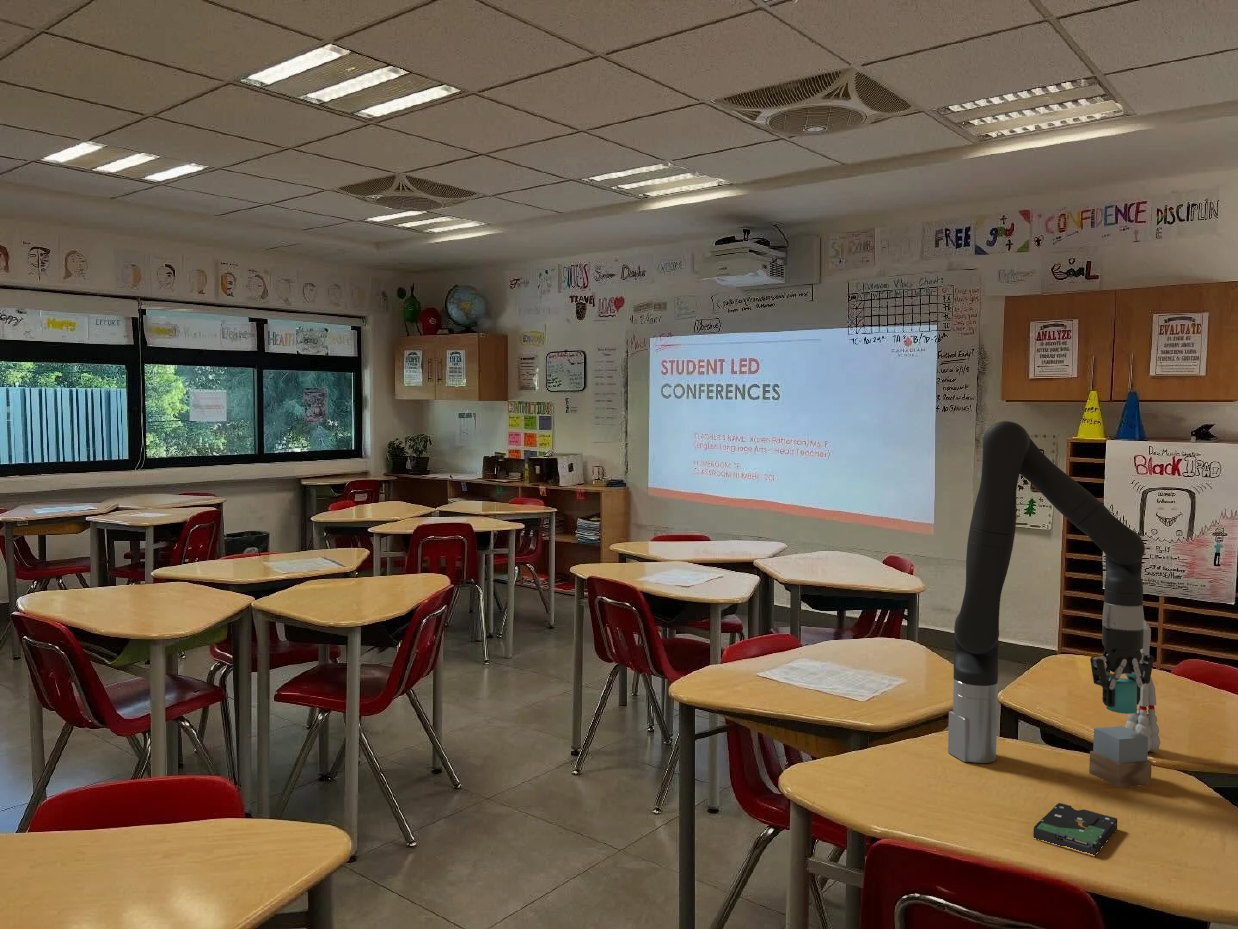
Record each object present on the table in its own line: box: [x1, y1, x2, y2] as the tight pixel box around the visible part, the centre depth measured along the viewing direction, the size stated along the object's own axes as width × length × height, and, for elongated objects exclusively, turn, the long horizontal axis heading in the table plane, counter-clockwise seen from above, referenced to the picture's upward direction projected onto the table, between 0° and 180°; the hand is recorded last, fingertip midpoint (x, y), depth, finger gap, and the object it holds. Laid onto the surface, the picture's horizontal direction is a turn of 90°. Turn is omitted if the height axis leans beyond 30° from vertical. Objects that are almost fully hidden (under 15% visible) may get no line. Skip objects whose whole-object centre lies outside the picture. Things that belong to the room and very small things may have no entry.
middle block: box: [1092, 725, 1149, 763], centre depth 187 cm, size 7×7×5 cm
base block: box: [1088, 750, 1153, 789], centre depth 187 cm, size 8×8×5 cm
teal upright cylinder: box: [1105, 677, 1138, 715], centre depth 186 cm, size 6×6×6 cm
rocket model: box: [1124, 619, 1161, 753], centre depth 203 cm, size 7×7×30 cm
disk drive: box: [1032, 802, 1118, 856], centre depth 161 cm, size 10×3×15 cm
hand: (1121, 704), depth 186 cm, fingers closed on teal upright cylinder, 5 cm apart
